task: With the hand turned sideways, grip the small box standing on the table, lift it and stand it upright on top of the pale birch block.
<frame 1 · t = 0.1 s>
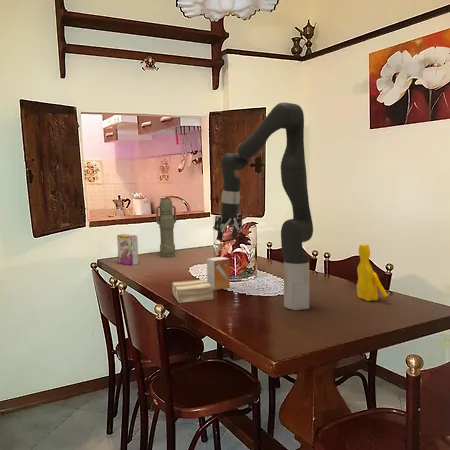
hand: (227, 239, 196), 22 cm above the table, tool pointing down, fingers open, 8 cm apart
figure statuette: (367, 299, 181), on the table
thermos: (167, 256, 278), on the table
small box: (218, 288, 203), on the table
candy bar box: (128, 264, 258), on the table
birch block: (192, 296, 189), on the table
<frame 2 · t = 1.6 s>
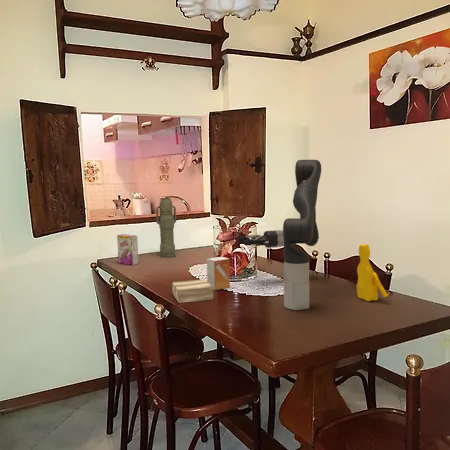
hand: (241, 241, 204), 20 cm above the table, tool horizontal, fingers open, 8 cm apart
nothing on the table moved.
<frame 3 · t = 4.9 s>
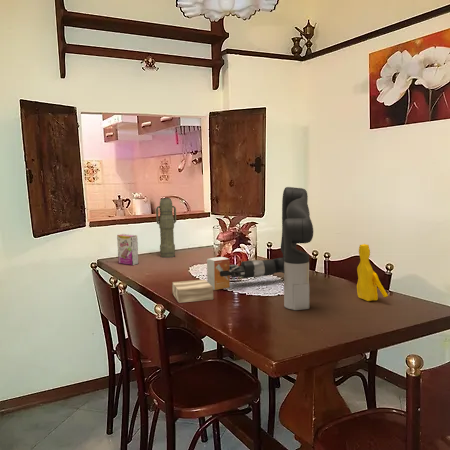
hand: (217, 271, 202), 7 cm above the table, tool horizontal, fingers open, 8 cm apart
small box: (218, 288, 203), on the table, touching gripper
everything else where it was.
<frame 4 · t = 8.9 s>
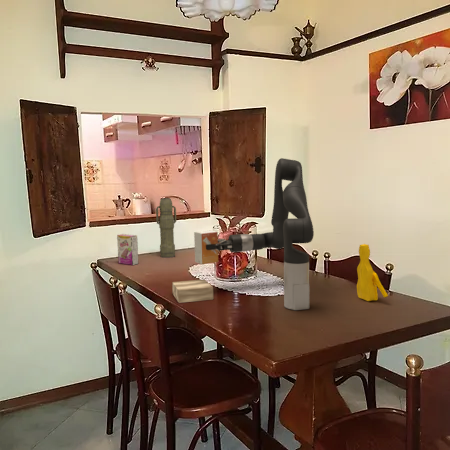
hand: (203, 245, 195), 20 cm above the table, tool horizontal, fingers closed on small box, 8 cm apart
small box: (206, 262, 196), point 12 cm above the table, touching gripper
everything else where it was.
when the fingers open (13 cm above the table, at t = 12.3 s): small box drops 1 cm, resting on birch block.
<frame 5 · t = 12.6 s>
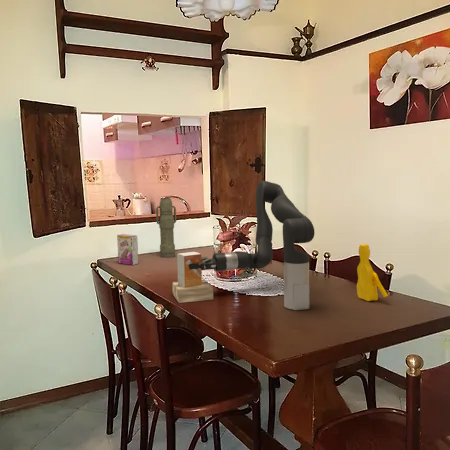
hand: (186, 264, 187), 13 cm above the table, tool horizontal, fingers open, 8 cm apart
small box: (189, 285, 188), point 5 cm above the table, touching birch block
everything else where it was.
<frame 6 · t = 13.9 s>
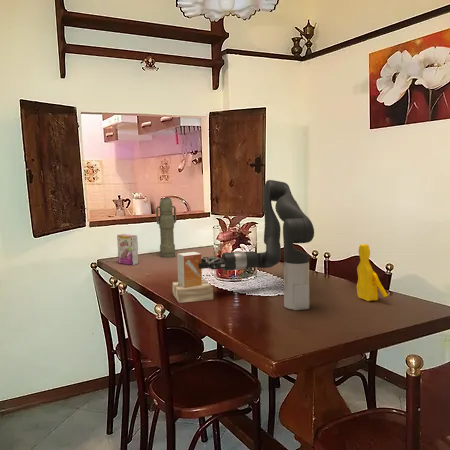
hand: (196, 264, 188), 13 cm above the table, tool horizontal, fingers open, 8 cm apart
nothing on the table moved.
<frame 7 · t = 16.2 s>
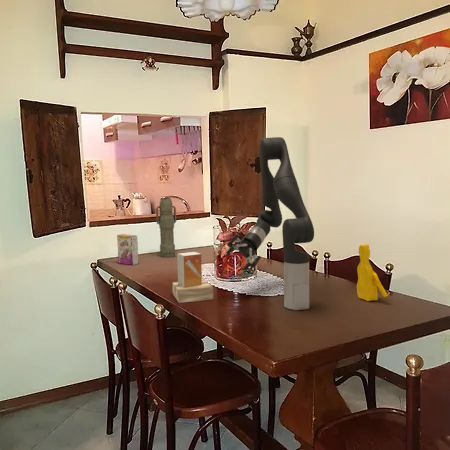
hand: (235, 262, 182), 15 cm above the table, tool tilted 65°, fingers open, 8 cm apart
nothing on the table moved.
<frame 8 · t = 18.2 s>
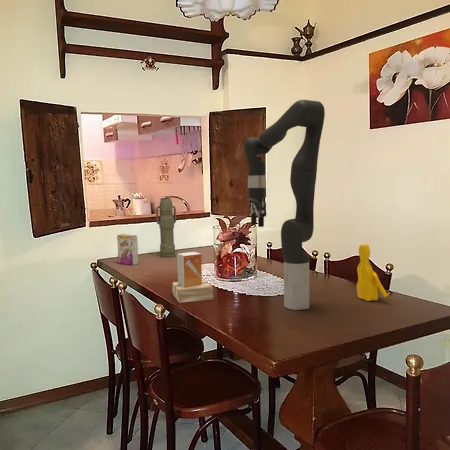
hand: (257, 225, 192), 28 cm above the table, tool pointing down, fingers open, 8 cm apart
nothing on the table moved.
at the end: small box inside the target area on the birch block (0.9 cm from its centre), point 4.8 cm above the birch block's base; small box tilted 0°; the gripper is holding nothing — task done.
